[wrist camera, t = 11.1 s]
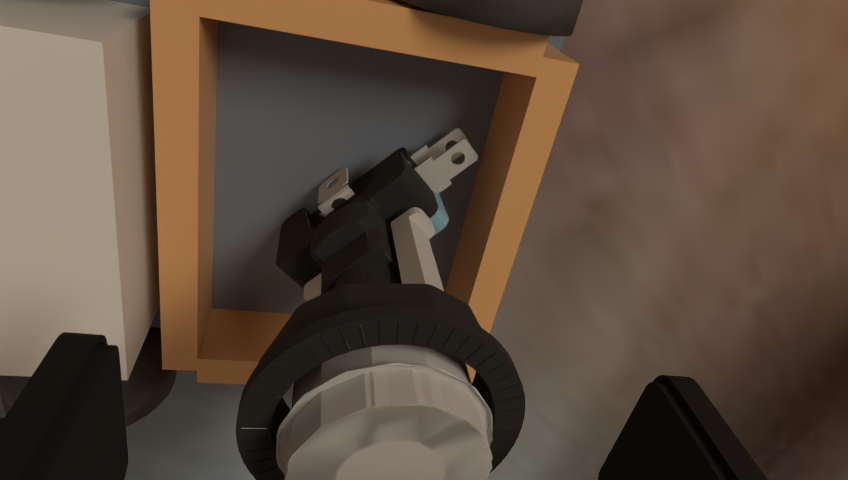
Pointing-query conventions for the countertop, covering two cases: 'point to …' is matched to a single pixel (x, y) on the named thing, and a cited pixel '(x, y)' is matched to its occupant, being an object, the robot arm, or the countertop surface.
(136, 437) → the countertop surface
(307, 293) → the push button
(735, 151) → the countertop surface
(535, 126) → the chassis
